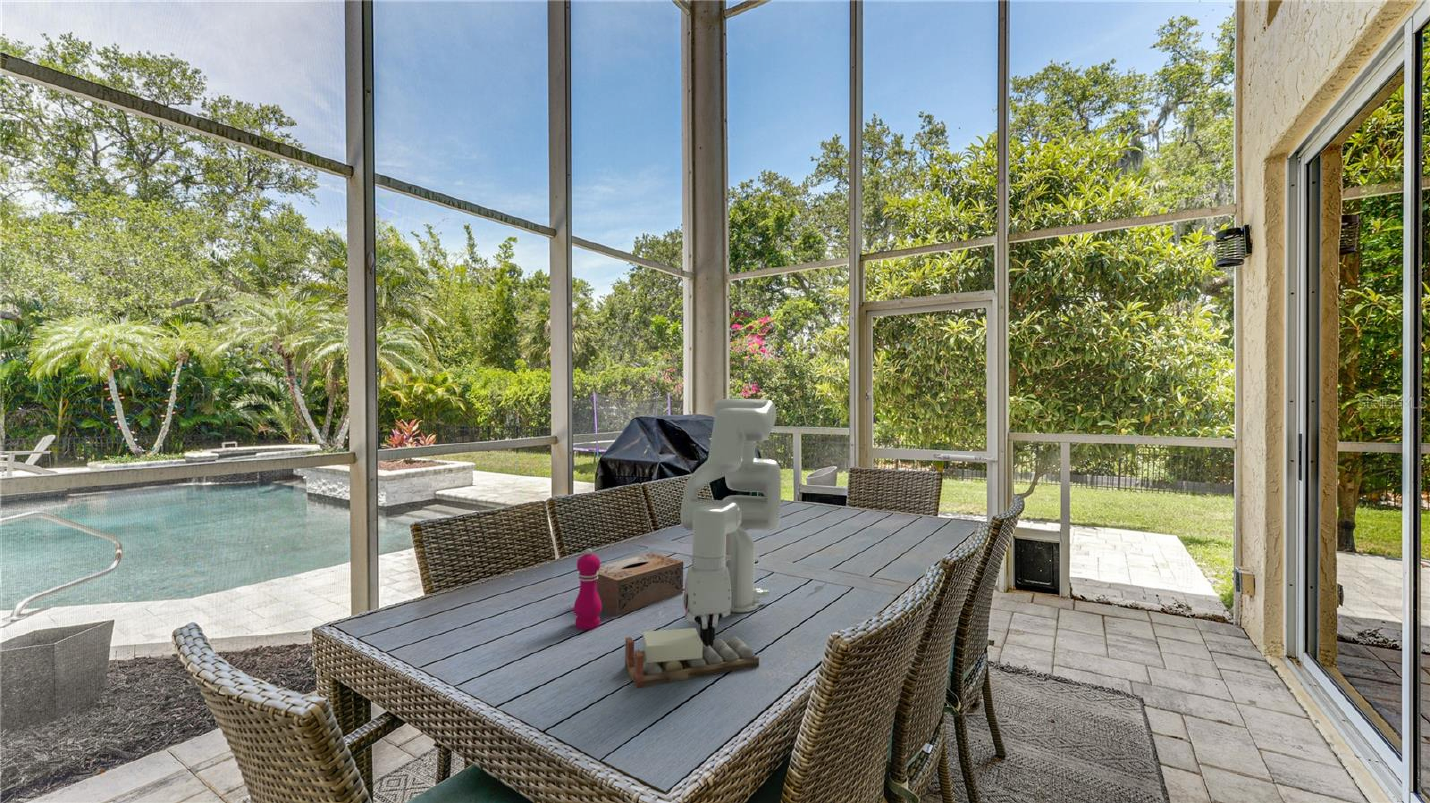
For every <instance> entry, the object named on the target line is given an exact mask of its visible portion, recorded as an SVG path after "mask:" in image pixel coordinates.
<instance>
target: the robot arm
mask: <svg viewBox="0 0 1430 803" xmlns="http://www.w3.org/2000/svg"><path fill="white" fill-rule="evenodd" d="M713 416H714V420H713V426H712V433H711V439H710V444H709V450H708V451H709V452H708V456H707V459H706V461H704V463H702V464H701V465H700V466H699V467H697V468H696V469H695V471H693V473H692V475H690V477H689V479H688V480H687V482H686V484H685V486H684V491H683V496H682V501H681V506H680V515H679V517H680V523H681V525H682V526H683V528H684V529H686V530H688V531H691V532H692V539H691V540H692V541H691V542H692V545H691V546H692V548H691V551H692V552H691V553H692V554H691V566H690V567H688V569H687V572H686V578H685V583H684V589H683V609H684V610H685V612H684V619H685V620H686V621H688V622H696V623H697V624H698V625H699V636H700V638H701V640H702V642H703V644H704V645H705V646H706V647H707V646H709V645H710V646H713V642H714V641H715V640H716V628H717V626H718V624H719V622H720V621H721V620H722V618H725V617H728V616H730V615H731V613H749V612H752V611H755V610H757V609H758V608H760V598H765V597H766V598H767V597H770V590H769V589H763V590H762V589H761V588H755V570H756V569H755V567H756V566H755V565H756V564H755V562H756V544H755V542H754V539H753V537H752V536H751V534H750V533H749V532H748V531H767V532H770V531H775V530H777V529H778V528H779V526H780V524H781V516H782V515H781V514H782V513H781V511H782V509H781V508H782V504H781V502H782V501H781V500H782V476H781V475H782V474H781V473H782V471H781V467H780V465H779V463H778V462H777V461H776V460H775V459H770V458H757V457H756V442H763V441H766V440H767V439H768V438H769V437H770V435H771V433H772V431H773V428H774V426H775V423H776V420H777V409H776V405H775V403H774V402H773V401H772V400H770V399H765V398H764V399H761V398H760V399H759V398H723V399H720V400H717V401H715V403H714V406H713ZM723 477H724V479H725V484H726V487H727V488H728V489H729V490H731V491H738V492H749V493H750V492H751V493H752V492H754V493H761V494H763V496H757V495H755V496H754V495H753V496H752V495H742V494H736V495H735V494H734V495H733V494H732V495H728V496H725V497H724V498H723V499H722V500H719V499H703V498H702V499H701V498H698V495H699V493H700V491H701V490H702V489H703V488H704V487H705V486H707V485H709V484H710V483H712V482H713V481H716V480H718V479H719V480H720V479H721V478H723Z"/></svg>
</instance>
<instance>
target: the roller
mask: <svg viewBox="0 0 1430 803" xmlns="http://www.w3.org/2000/svg"><path fill="white" fill-rule="evenodd" d="M659 664H660V665H661V667H662V668H663V669H664V671H665V672H670V671H676V670H682V669H683V667H682V664H681V663H680V662H679V660H676V661H664V662H659Z"/></svg>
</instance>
